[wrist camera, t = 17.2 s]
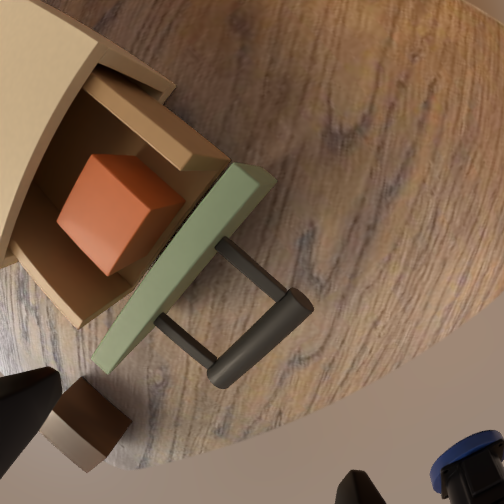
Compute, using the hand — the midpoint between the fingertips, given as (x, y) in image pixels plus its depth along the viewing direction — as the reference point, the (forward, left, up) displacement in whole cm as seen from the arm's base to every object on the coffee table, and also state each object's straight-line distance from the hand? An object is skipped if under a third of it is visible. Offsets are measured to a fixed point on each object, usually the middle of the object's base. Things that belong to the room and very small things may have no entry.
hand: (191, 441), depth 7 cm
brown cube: (-6, +20, -12) cm, 24 cm away
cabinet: (+19, +9, -12) cm, 24 cm away
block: (+7, +3, -10) cm, 13 cm away
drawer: (+9, +4, -11) cm, 15 cm away
